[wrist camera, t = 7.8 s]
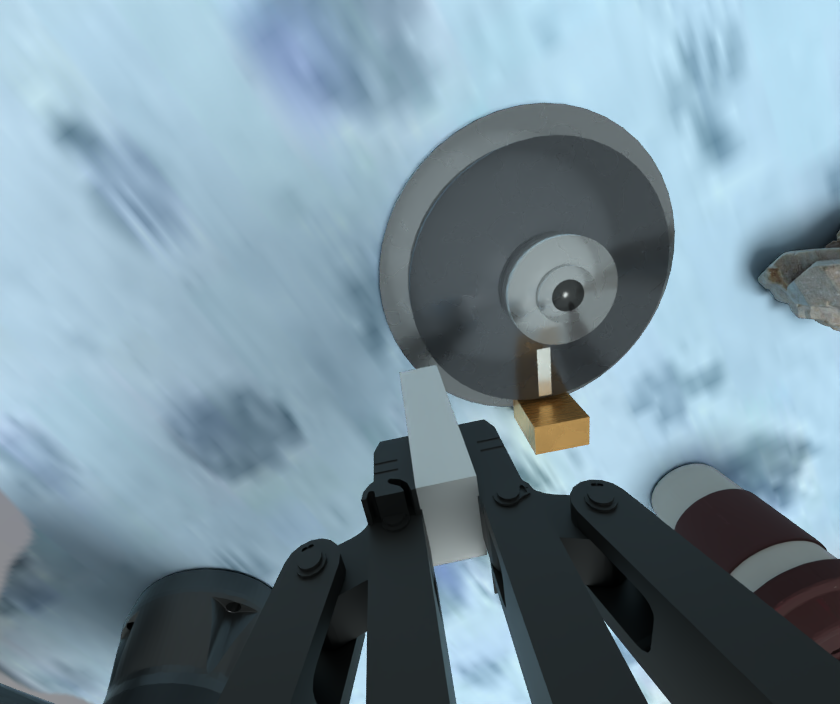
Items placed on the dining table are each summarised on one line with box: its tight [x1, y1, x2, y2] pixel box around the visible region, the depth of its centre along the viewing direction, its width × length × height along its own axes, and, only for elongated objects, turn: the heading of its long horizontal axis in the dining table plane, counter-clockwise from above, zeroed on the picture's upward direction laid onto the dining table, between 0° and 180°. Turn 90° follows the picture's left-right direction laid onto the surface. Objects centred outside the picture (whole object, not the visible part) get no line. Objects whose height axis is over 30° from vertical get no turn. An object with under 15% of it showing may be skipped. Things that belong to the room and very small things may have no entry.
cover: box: [498, 231, 618, 345], centre depth 25 cm, size 7×7×3 cm
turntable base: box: [380, 103, 675, 407], centre depth 29 cm, size 22×22×1 cm
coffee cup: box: [651, 464, 840, 661], centre depth 33 cm, size 10×10×15 cm
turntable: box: [408, 135, 669, 455], centre depth 27 cm, size 18×21×5 cm
